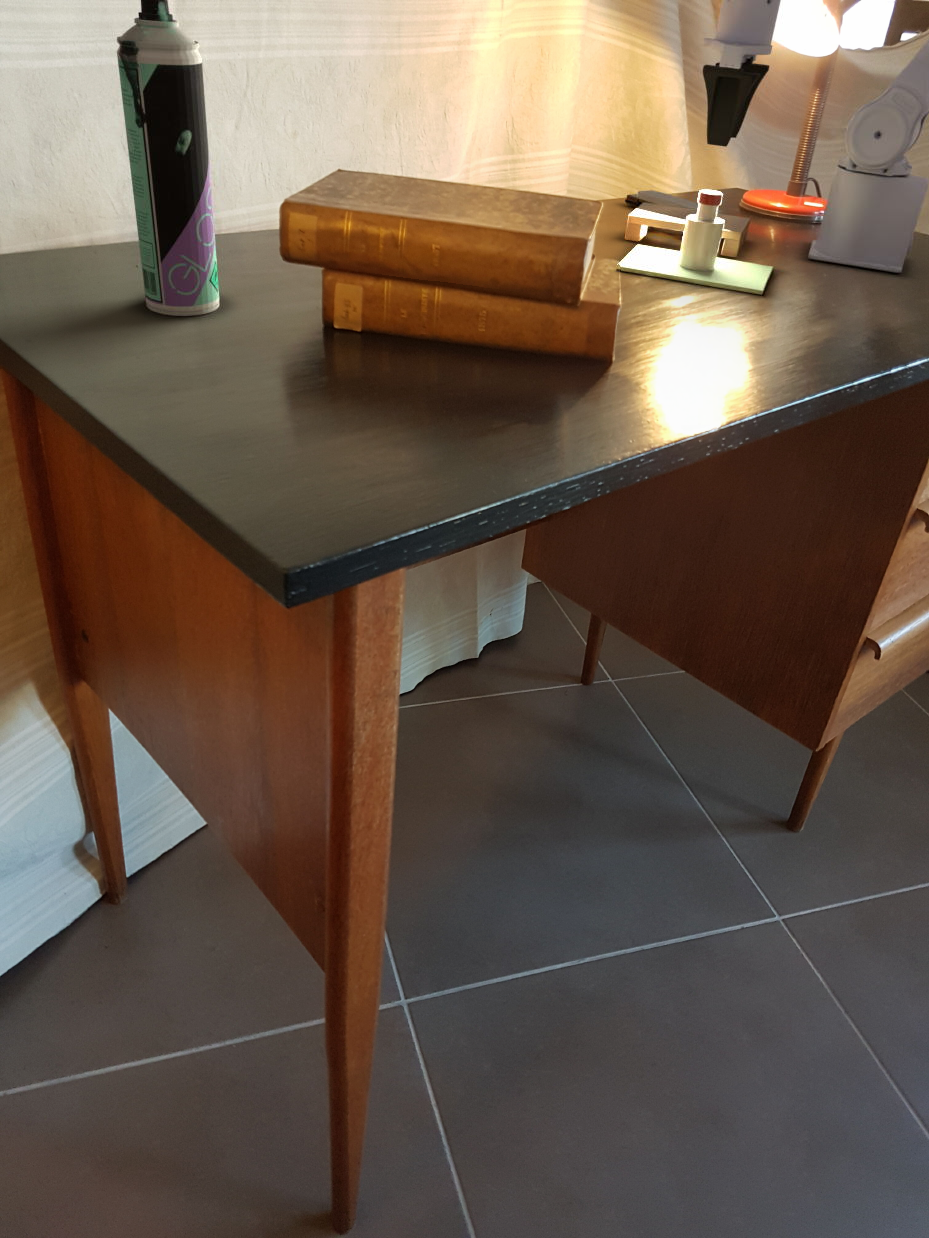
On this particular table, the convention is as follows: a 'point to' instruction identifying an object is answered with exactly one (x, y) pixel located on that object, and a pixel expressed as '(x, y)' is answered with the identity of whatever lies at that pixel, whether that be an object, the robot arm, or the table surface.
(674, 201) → the harmonica
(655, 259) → the mat
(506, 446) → the table surface
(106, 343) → the table surface
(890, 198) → the robot arm
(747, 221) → the small bench
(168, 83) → the spray can
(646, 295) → the table surface
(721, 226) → the spice bottle
